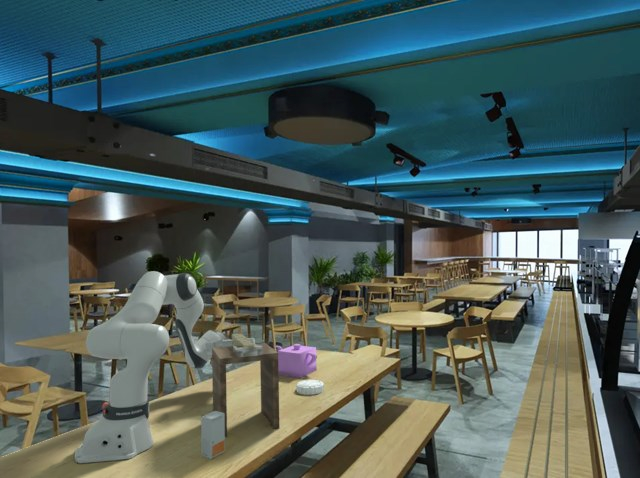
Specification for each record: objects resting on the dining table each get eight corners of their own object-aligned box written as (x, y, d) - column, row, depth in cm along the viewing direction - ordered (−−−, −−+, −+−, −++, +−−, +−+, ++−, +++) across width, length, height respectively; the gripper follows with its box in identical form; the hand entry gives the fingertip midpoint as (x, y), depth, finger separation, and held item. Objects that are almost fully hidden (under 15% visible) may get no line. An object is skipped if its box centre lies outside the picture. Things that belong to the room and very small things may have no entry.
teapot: (284, 365, 243) (283, 339, 243) (324, 371, 230) (324, 343, 230) (266, 372, 230) (265, 344, 230) (308, 379, 217) (307, 349, 217)
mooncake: (291, 393, 198) (291, 384, 198) (304, 385, 209) (304, 377, 209) (316, 396, 193) (316, 388, 193) (328, 388, 203) (328, 380, 203)
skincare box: (211, 459, 137) (210, 419, 137) (201, 456, 139) (200, 416, 139) (225, 451, 142) (225, 412, 142) (215, 448, 144) (215, 410, 144)
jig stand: (221, 438, 151) (220, 350, 152) (213, 419, 169) (211, 339, 169) (280, 429, 159) (278, 344, 159) (266, 411, 176) (265, 335, 176)
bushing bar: (244, 356, 155) (243, 345, 155) (232, 343, 176) (232, 334, 176) (254, 355, 157) (254, 344, 157) (241, 342, 177) (241, 333, 177)
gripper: (202, 345, 194) (205, 334, 183) (250, 341, 202) (256, 330, 190) (203, 360, 191) (207, 350, 180) (252, 355, 199) (258, 345, 188)
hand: (232, 340), depth 185 cm, fingers open, 8 cm apart
